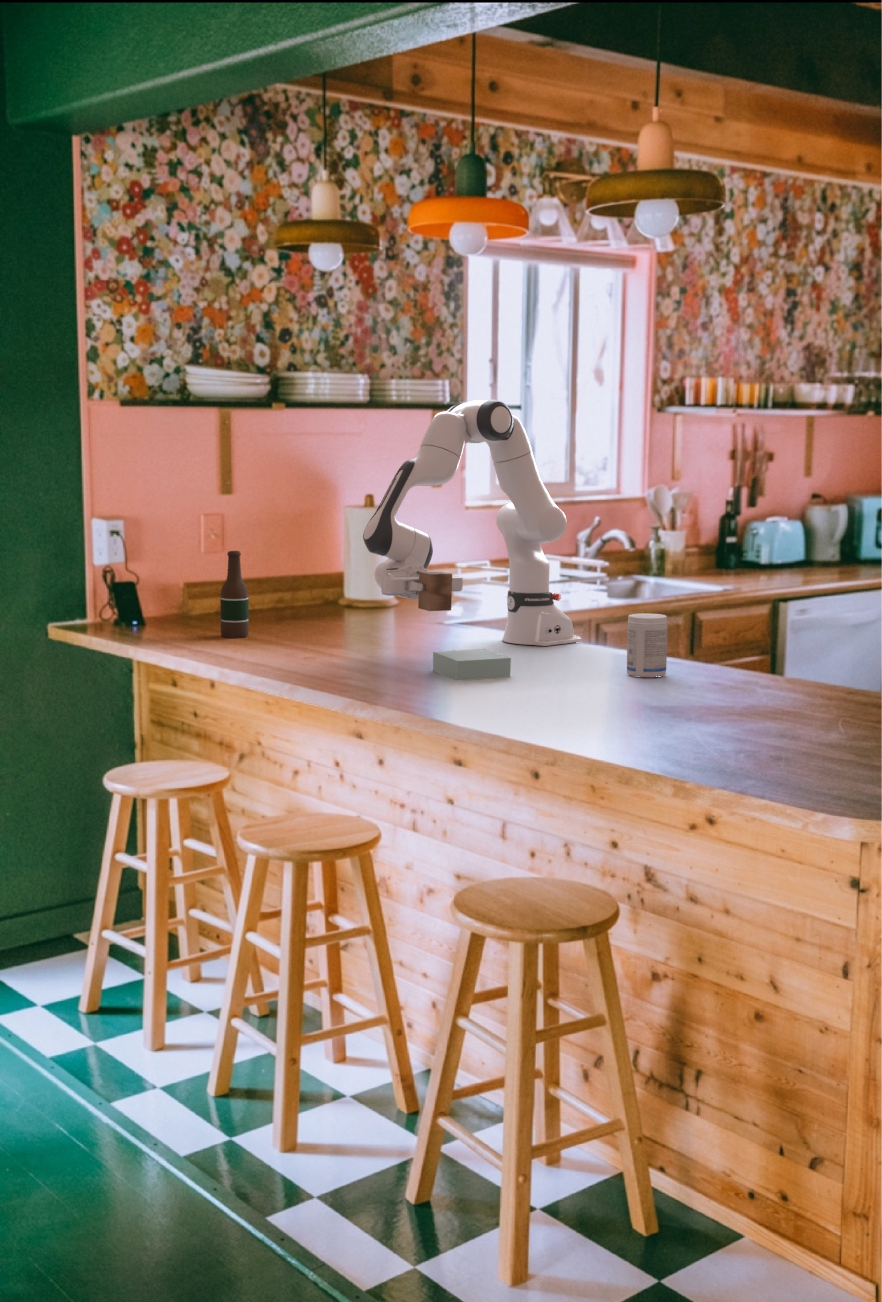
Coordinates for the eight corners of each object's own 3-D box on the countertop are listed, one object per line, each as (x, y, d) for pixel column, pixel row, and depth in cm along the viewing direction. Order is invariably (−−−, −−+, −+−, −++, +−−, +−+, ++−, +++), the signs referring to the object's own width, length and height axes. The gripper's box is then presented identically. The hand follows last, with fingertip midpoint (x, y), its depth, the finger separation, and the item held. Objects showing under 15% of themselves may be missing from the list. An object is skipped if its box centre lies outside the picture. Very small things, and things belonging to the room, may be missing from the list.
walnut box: (439, 607, 330) (441, 571, 329) (451, 610, 325) (452, 573, 324) (418, 608, 328) (419, 571, 326) (429, 611, 322) (430, 574, 321)
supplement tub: (670, 674, 325) (672, 614, 323) (660, 680, 316) (663, 619, 314) (631, 670, 329) (633, 611, 326) (621, 676, 320) (623, 616, 318)
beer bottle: (254, 636, 375) (254, 550, 371) (236, 639, 368) (235, 552, 364) (233, 633, 379) (232, 549, 375) (214, 636, 372) (214, 551, 368)
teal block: (484, 668, 330) (484, 648, 329) (510, 678, 318) (510, 657, 317) (432, 672, 324) (433, 651, 324) (457, 682, 312) (457, 661, 311)
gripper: (448, 592, 342) (473, 598, 330) (375, 594, 333) (399, 601, 320) (448, 568, 341) (474, 573, 329) (376, 569, 332) (400, 574, 320)
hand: (437, 587), depth 325 cm, fingers closed on walnut box, 6 cm apart
